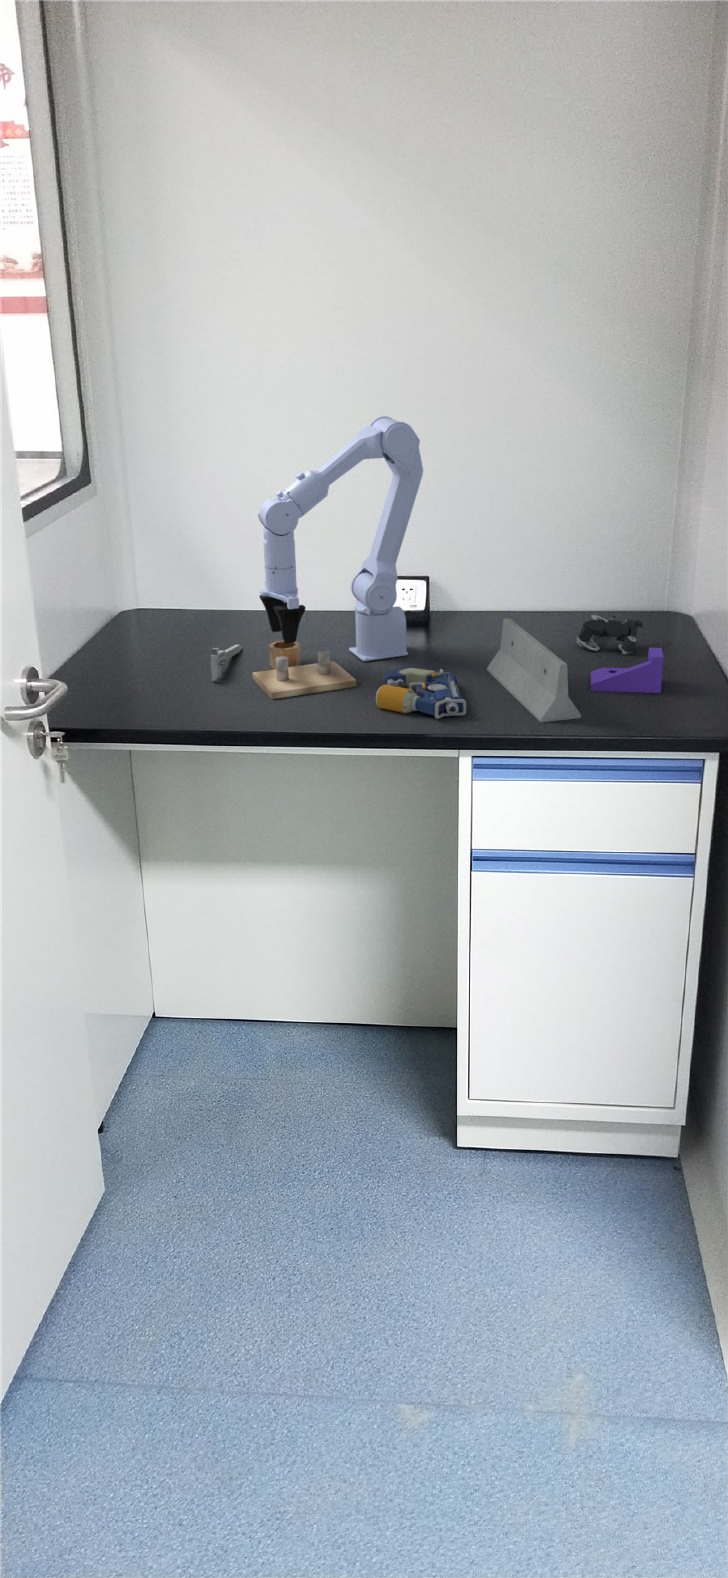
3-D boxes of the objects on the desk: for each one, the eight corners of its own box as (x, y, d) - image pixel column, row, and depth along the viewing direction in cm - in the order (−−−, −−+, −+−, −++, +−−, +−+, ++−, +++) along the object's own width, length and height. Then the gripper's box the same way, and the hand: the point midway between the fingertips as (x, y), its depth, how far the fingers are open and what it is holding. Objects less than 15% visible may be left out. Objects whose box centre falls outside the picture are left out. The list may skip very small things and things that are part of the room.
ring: (294, 658, 228) (293, 638, 226) (304, 667, 223) (303, 646, 222) (267, 662, 226) (265, 642, 225) (275, 671, 222) (274, 650, 220)
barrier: (581, 719, 197) (584, 662, 192) (540, 723, 195) (543, 666, 191) (522, 667, 221) (524, 616, 217) (486, 671, 220) (487, 619, 216)
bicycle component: (590, 619, 241) (566, 642, 229) (605, 589, 237) (581, 611, 225) (642, 647, 238) (620, 672, 226) (657, 617, 234) (636, 641, 222)
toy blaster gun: (377, 724, 196) (467, 723, 197) (377, 700, 195) (467, 699, 195) (372, 685, 215) (454, 683, 216) (372, 662, 214) (454, 661, 214)
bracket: (657, 681, 213) (660, 645, 210) (660, 694, 207) (663, 657, 204) (590, 679, 215) (592, 643, 212) (590, 692, 208) (593, 655, 206)
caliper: (217, 683, 217) (215, 651, 214) (211, 683, 217) (209, 651, 214) (242, 649, 235) (240, 619, 233) (237, 649, 235) (234, 619, 233)
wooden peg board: (333, 666, 223) (332, 640, 221) (356, 686, 213) (355, 658, 211) (252, 678, 218) (250, 651, 216) (272, 699, 208) (270, 671, 206)
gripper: (248, 559, 222) (252, 628, 227) (271, 576, 209) (274, 650, 215) (284, 555, 224) (287, 624, 230) (308, 572, 212) (311, 645, 217)
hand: (283, 636), depth 222 cm, fingers open, 7 cm apart
